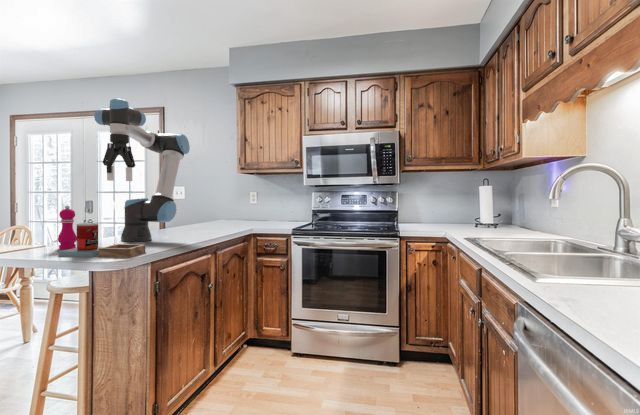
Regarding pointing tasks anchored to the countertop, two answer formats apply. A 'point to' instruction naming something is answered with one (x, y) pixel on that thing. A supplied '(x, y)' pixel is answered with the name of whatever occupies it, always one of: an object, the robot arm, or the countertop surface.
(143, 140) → the robot arm
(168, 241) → the countertop surface
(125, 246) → the collar
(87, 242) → the canned food
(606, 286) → the countertop surface
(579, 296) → the countertop surface
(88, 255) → the plate
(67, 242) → the pepper mill
